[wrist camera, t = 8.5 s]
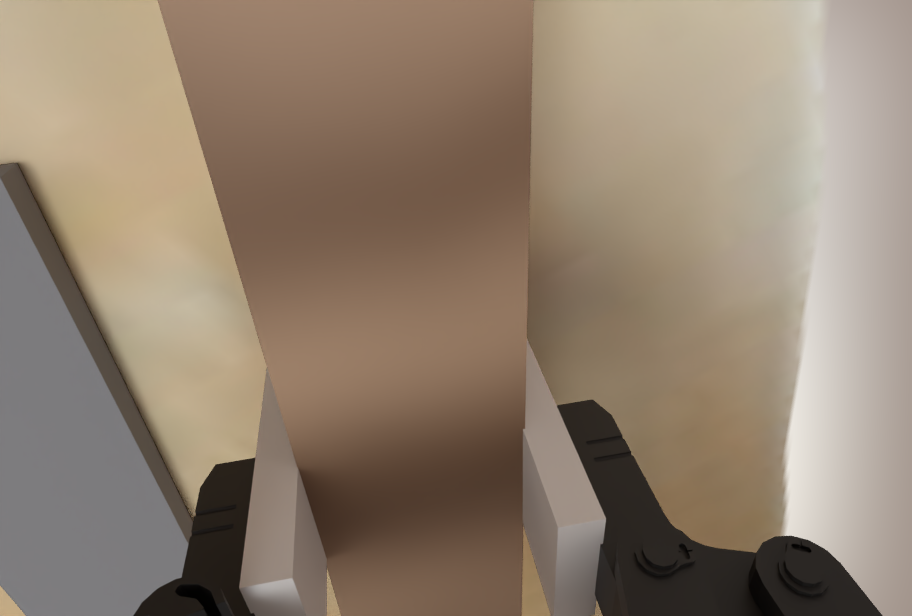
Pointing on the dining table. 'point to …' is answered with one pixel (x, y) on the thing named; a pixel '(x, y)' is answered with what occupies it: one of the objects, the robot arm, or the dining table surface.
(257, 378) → the dining table surface
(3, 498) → the tool rest mat
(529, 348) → the robot arm
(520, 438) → the walnut bar
